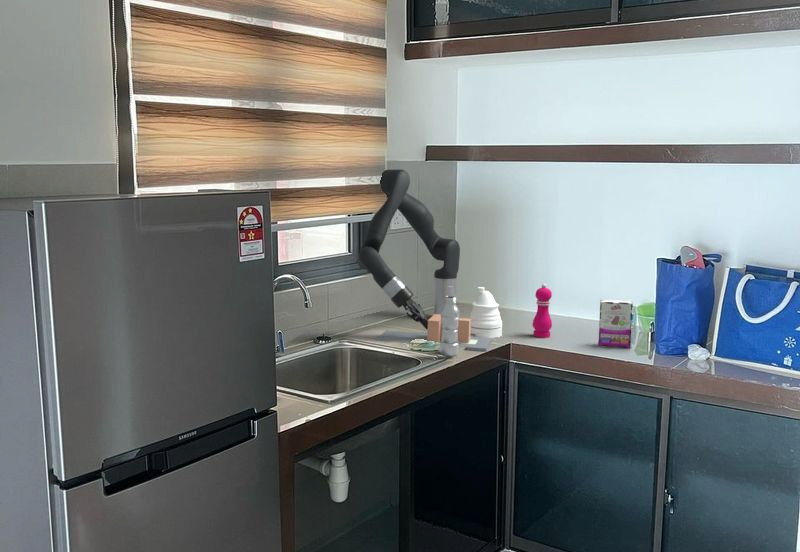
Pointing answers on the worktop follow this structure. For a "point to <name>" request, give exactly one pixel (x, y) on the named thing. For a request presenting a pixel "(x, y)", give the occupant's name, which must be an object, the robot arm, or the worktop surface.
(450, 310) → the plastic bottle
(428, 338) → the t block
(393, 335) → the board
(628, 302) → the candy bar box
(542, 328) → the pepper mill
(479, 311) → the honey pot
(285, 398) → the worktop surface
